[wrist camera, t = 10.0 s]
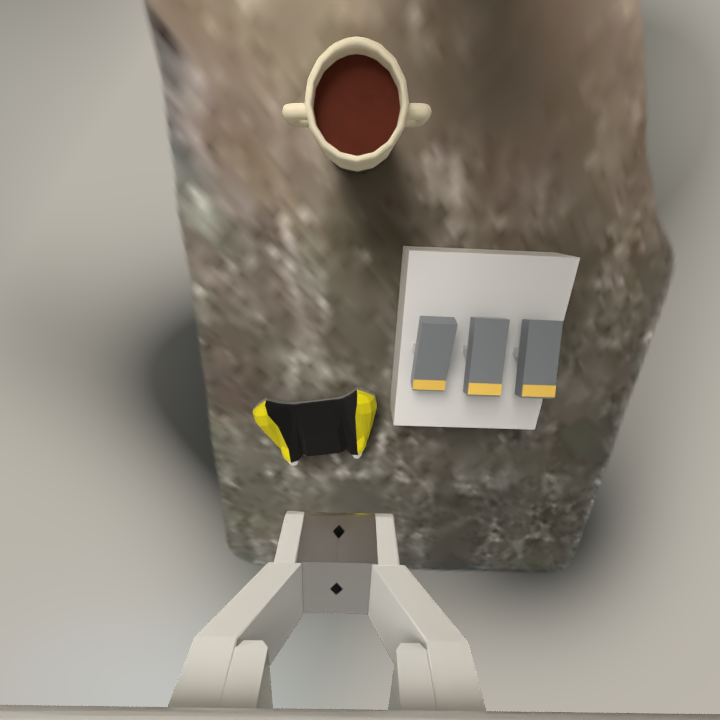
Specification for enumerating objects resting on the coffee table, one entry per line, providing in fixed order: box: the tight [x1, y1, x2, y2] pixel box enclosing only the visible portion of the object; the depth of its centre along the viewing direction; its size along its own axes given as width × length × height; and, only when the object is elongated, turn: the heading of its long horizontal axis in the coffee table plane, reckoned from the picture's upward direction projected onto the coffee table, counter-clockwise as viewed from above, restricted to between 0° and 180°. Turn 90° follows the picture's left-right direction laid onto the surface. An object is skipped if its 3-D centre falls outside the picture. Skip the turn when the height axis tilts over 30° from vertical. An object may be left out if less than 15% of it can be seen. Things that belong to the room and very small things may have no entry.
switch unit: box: [390, 246, 580, 430], centre depth 41 cm, size 20×17×6 cm
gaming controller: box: [253, 387, 377, 466], centre depth 46 cm, size 15×6×10 cm
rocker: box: [463, 317, 510, 397], centre depth 37 cm, size 8×3×2 cm, turn 178°
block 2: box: [515, 319, 563, 399], centre depth 37 cm, size 8×3×2 cm, turn 178°
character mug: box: [282, 36, 432, 173], centre depth 30 cm, size 11×7×13 cm, turn 90°
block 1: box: [410, 316, 458, 391], centre depth 37 cm, size 8×3×2 cm, turn 178°
